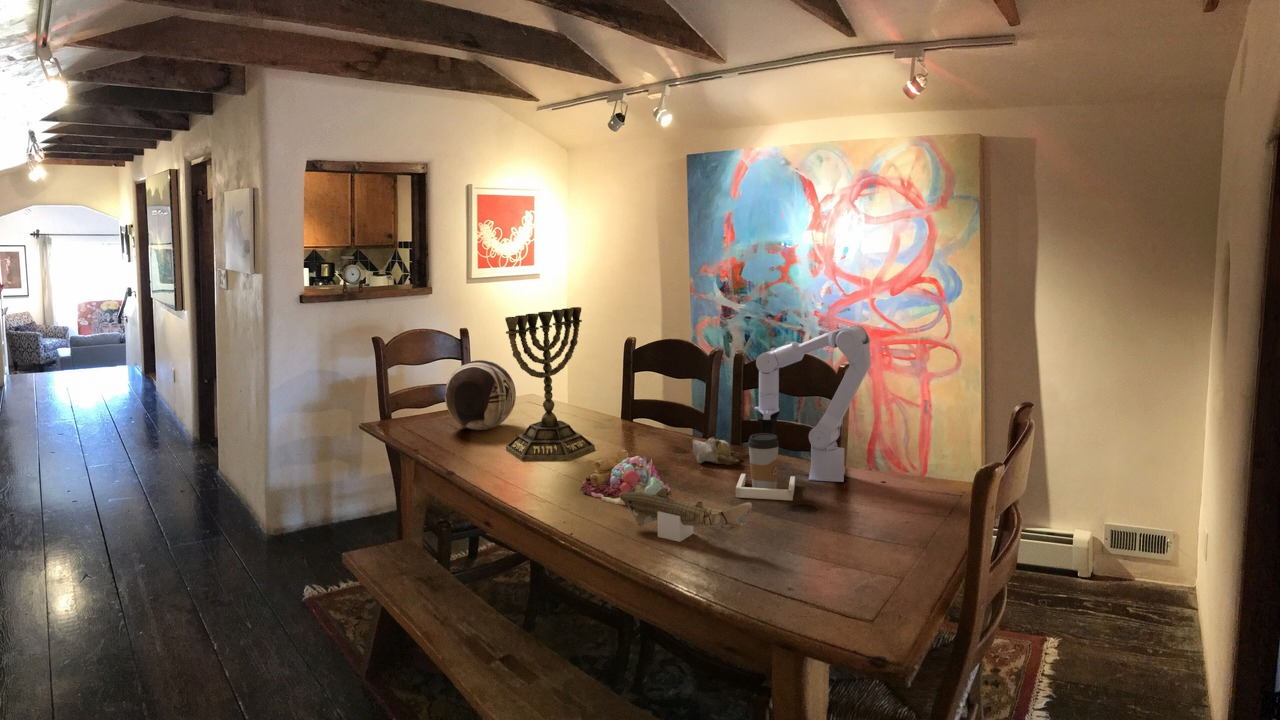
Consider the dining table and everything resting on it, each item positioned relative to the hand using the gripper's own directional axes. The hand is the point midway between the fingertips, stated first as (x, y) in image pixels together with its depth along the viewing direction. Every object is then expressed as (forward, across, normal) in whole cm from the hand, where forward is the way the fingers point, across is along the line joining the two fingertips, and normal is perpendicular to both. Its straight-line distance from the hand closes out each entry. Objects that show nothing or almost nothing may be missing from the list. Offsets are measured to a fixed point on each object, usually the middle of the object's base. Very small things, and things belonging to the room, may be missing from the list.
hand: (768, 438), depth 241 cm
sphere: (+10, -33, -105) cm, 110 cm away
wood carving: (+10, +57, -15) cm, 60 cm away
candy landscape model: (+10, +24, -36) cm, 45 cm away
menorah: (+10, -10, -71) cm, 72 cm away
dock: (+9, +20, +1) cm, 22 cm away
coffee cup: (+10, +20, +1) cm, 22 cm away
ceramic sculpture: (+10, -4, -16) cm, 19 cm away
